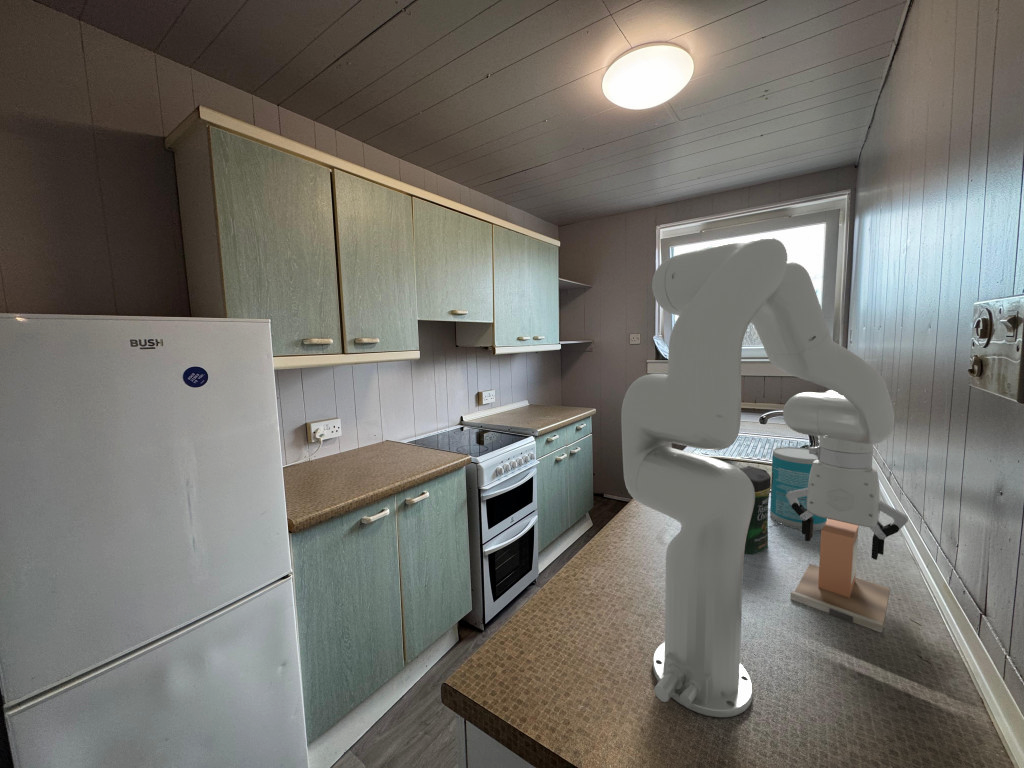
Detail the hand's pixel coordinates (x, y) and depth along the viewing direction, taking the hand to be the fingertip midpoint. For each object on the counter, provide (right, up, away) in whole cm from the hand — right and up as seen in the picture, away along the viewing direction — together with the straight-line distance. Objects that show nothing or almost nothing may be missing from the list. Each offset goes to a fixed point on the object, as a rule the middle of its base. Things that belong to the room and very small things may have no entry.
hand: (840, 547), depth 75 cm
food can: (+13, -5, +30) cm, 33 cm away
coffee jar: (-8, -7, +16) cm, 20 cm away
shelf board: (-2, -9, -2) cm, 9 cm away
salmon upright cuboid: (0, -7, 0) cm, 7 cm away
